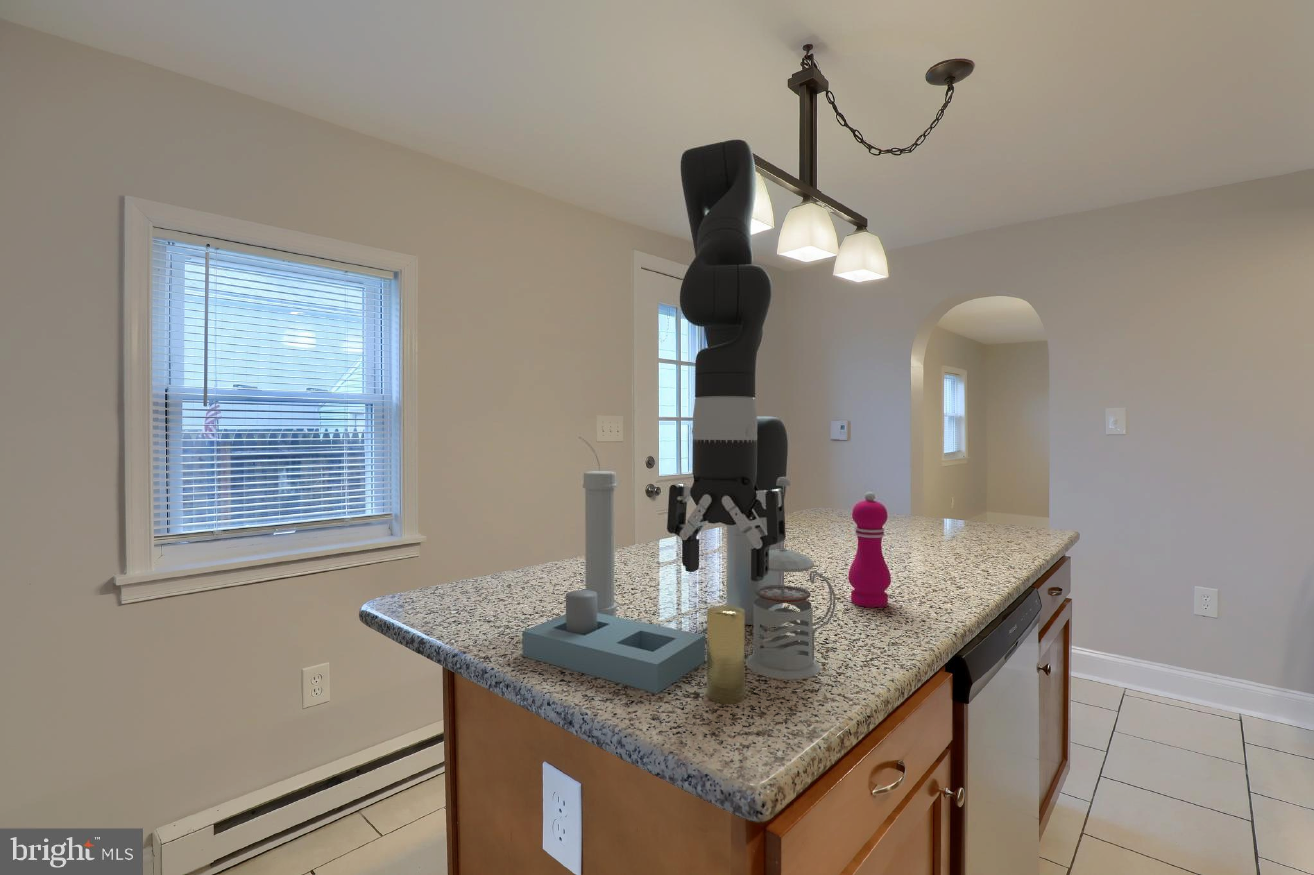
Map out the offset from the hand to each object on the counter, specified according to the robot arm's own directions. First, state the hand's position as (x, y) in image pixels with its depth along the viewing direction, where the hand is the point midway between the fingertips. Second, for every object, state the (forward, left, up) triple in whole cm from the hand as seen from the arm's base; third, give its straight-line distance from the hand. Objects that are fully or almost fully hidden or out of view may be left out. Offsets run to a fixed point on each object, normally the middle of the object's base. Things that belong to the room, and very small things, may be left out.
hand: (723, 575), depth 71 cm
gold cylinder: (0, 0, -14) cm, 14 cm away
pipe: (-14, -30, -14) cm, 36 cm away
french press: (-13, +3, -14) cm, 20 cm away
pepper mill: (-48, +5, -14) cm, 50 cm away
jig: (-2, -18, -14) cm, 23 cm away
